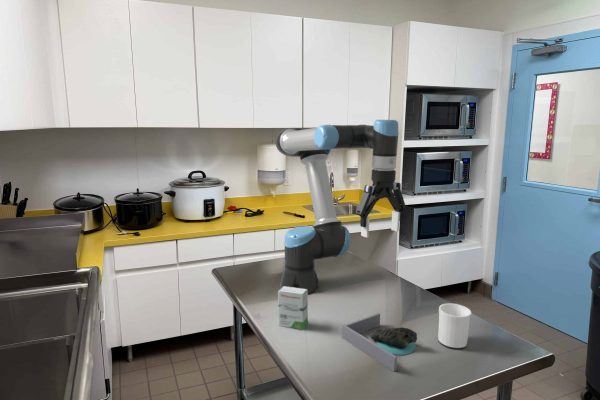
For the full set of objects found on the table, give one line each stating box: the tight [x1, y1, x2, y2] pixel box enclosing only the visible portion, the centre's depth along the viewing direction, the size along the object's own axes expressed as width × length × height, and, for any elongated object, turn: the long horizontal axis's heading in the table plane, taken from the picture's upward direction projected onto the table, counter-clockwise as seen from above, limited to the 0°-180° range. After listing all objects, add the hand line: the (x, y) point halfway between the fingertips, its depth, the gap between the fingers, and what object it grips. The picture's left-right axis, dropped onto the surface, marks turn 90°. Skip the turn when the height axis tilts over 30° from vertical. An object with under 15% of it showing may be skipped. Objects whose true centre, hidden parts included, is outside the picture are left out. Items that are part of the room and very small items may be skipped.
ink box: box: [277, 286, 309, 330], centre depth 132 cm, size 9×5×12 cm, turn 71°
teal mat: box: [376, 340, 416, 356], centre depth 122 cm, size 11×11×1 cm
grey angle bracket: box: [341, 312, 398, 372], centre depth 121 cm, size 21×15×4 cm
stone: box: [370, 327, 418, 349], centre depth 122 cm, size 7×13×5 cm, turn 66°
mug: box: [437, 302, 472, 350], centre depth 123 cm, size 11×9×10 cm
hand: (380, 233), depth 137 cm, fingers open, 13 cm apart
